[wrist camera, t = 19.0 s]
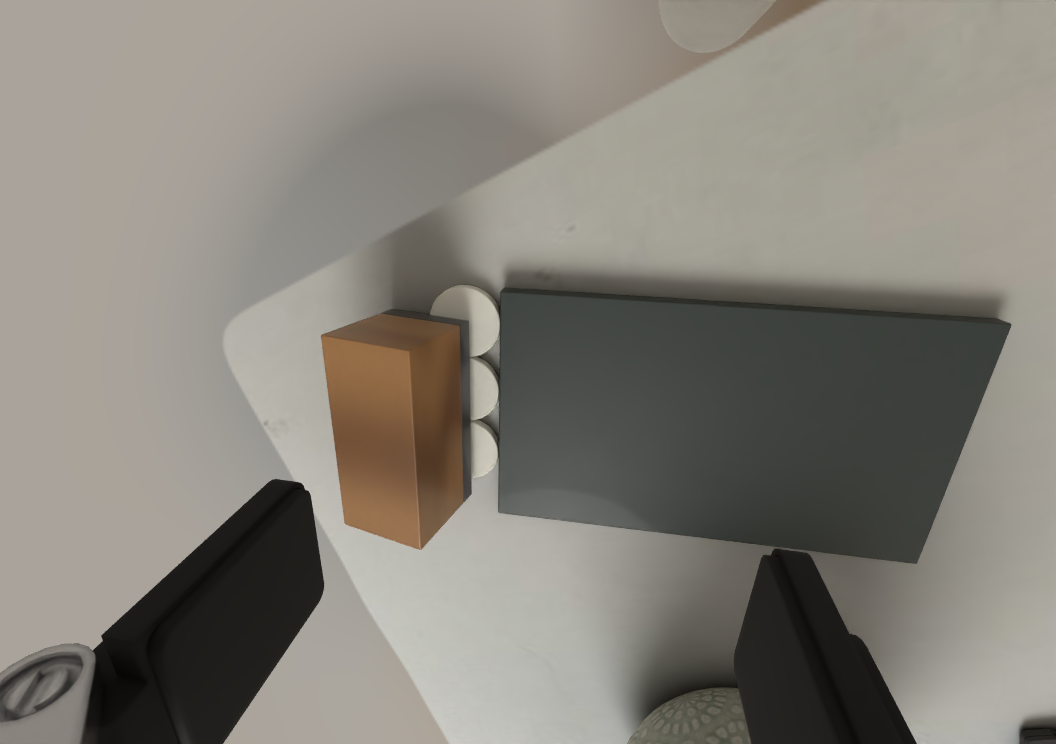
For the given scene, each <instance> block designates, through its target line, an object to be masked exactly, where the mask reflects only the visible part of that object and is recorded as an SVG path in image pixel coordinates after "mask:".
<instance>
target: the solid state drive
mask: <svg viewBox="0 0 1056 744" xmlns="http://www.w3.org/2000/svg"><path fill="white" fill-rule="evenodd" d="M1020 744H1056V733H1054V732H1053V728H1050V729H1035V730H1024V731H1022V732H1021V733H1020Z"/></svg>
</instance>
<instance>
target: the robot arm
mask: <svg viewBox="0 0 1056 744" xmlns="http://www.w3.org/2000/svg"><path fill="white" fill-rule="evenodd" d="M323 590H324V580H323V573H322V567H321V560H320V554H319V547H318V540H317V534H316V527H315V521H314V514H313V507H312V501H311V495H310V493H309V491H307V490H305V489H304V486H303V485H302V483H299V482H293V481H286V480H278V479H274V480H271V481H270V482H268V483H267V484H266V485H265V486H264V487H263V488H262V489H261V490H260V491H258V492H257V493H256V494H255V495H254V496H253V497H252V498H251V499H250V500H249V501H248V502H247V503H245V504H244V505H243V506H242V507H241V508H240V509H239V510H238V511H237V512H236V513H234V514H233V515H232V516H231V517H230V518H229V519H228V520H227V521H226V522H225V523H224V524H222V525H221V526H220V527H219V528H218V529H217V530H216V531H215V532H214V533H213V534H212V535H211V536H209V537H208V538H207V539H206V540H205V541H204V542H203V543H202V544H201V545H200V546H198V547H197V548H196V549H195V550H194V551H193V552H192V553H191V554H190V555H189V556H188V557H186V558H185V559H184V560H183V561H182V562H181V563H180V564H179V565H178V566H177V567H176V568H175V569H173V570H172V571H171V572H170V573H169V574H168V575H167V576H166V577H165V578H164V579H162V580H161V581H160V582H159V583H158V584H157V585H156V586H155V587H154V588H153V589H152V590H150V591H149V592H148V593H147V594H146V595H145V596H144V597H143V598H142V599H141V600H140V601H138V602H137V603H136V604H135V605H134V606H133V607H132V608H131V609H130V610H129V611H128V612H126V613H125V614H124V615H123V616H122V617H121V618H120V619H119V620H118V621H117V622H116V623H115V624H114V625H112V626H111V627H110V628H109V629H108V630H107V631H106V632H105V633H104V634H103V635H102V639H103V642H101V643H100V644H99V645H98V646H97V647H96V648H95V649H94V650H93V651H92V650H91V649H90V648H89V647H88V646H85V645H82V644H78V643H77V644H76V643H75V644H61V645H57V646H53V647H49V648H45V649H43V650H40V651H38V652H35V653H33V654H31V655H28V656H26V657H24V658H23V659H21V660H19V661H18V662H16V663H14V664H12V665H11V666H9V667H8V668H6V669H5V670H4V671H2V672H1V673H0V744H223V743H224V741H225V740H226V739H227V737H228V736H229V734H230V732H231V731H232V730H233V728H234V727H235V725H236V724H237V722H238V721H239V719H240V717H241V716H242V715H243V713H244V712H245V711H246V709H247V708H248V706H249V705H250V703H251V701H252V700H253V699H254V697H255V696H256V694H257V693H258V691H259V690H260V688H261V687H262V685H263V684H264V683H265V681H266V680H267V678H268V676H269V675H270V674H271V672H272V671H273V669H274V668H275V666H276V665H277V663H278V662H279V660H280V659H281V657H282V656H283V655H284V653H285V652H286V650H287V649H288V647H289V646H290V644H291V643H292V641H293V640H294V638H295V637H296V635H297V634H298V632H299V631H300V629H301V628H302V626H303V625H304V623H305V622H306V621H307V619H308V618H309V616H310V615H311V613H312V612H313V610H314V609H315V607H316V606H317V604H318V603H319V601H320V599H321V597H322V594H323ZM734 671H735V676H736V681H737V685H738V689H739V693H740V698H741V702H742V706H743V711H744V715H745V719H746V724H747V728H748V732H749V737H750V741H751V744H917V743H916V741H915V739H914V737H913V736H912V734H911V732H910V730H909V728H908V726H907V724H906V722H905V720H904V718H903V716H902V714H901V712H900V710H899V708H898V706H897V705H896V703H895V701H894V699H893V697H892V695H891V693H890V691H889V689H888V687H887V685H886V683H885V681H884V679H883V677H882V676H881V674H880V672H879V670H878V668H877V666H876V664H875V662H874V660H873V658H872V656H871V654H870V652H869V650H868V649H867V647H866V645H865V644H864V642H863V641H862V640H861V639H860V638H859V637H858V636H856V635H852V634H849V632H848V630H847V628H846V626H845V624H844V622H843V620H842V618H841V616H840V614H839V612H838V610H837V608H836V606H835V604H834V602H833V600H832V598H831V596H830V594H829V592H828V590H827V588H826V586H825V584H824V582H823V580H822V578H821V576H820V574H819V572H818V569H817V567H816V565H815V563H814V561H813V559H812V558H811V556H810V555H809V554H808V553H804V552H797V551H790V550H783V549H774V550H773V551H772V554H771V556H769V555H763V556H762V558H761V561H760V564H759V568H758V571H757V575H756V578H755V582H754V586H753V589H752V593H751V596H750V600H749V603H748V607H747V610H746V614H745V617H744V621H743V624H742V628H741V631H740V635H739V638H738V642H737V646H736V649H735V653H734Z"/></svg>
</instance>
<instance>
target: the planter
mask: <svg viewBox="0 0 1056 744" xmlns="http://www.w3.org/2000/svg"><path fill="white" fill-rule="evenodd" d="M627 744H751V741H750V737H749V732H748V728H747V724H746V719H745V715H744V711H743V706H742V702H741V698H740V693H739V689H738V688H726V687H722V688H708V689H701V690H697V691H692V692H689V693H686V694H683V695H680V696H678V697H676V698H674V699H672V700H670V701H668V702H666V703H664V704H663V705H661V706H660V707H658V708H657V709H655V710H654V711H653V712H652V713H651V714H649V715H648V716H647V717H646V718H645V719H644V720H643V721H642V722H641V724H640V725H639V726H638V727H637V728H636V730H635V731H634V732H633V734H632V736H631V737H630V739H629V741H628V743H627Z"/></svg>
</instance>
